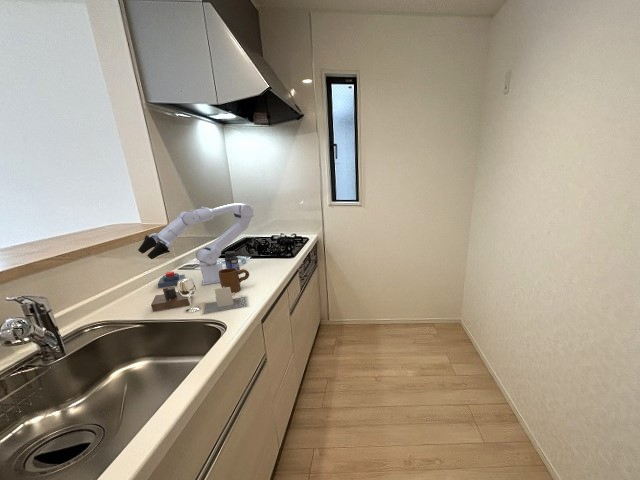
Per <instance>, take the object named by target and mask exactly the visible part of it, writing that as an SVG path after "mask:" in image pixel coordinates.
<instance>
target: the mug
mask: <svg viewBox="0 0 640 480" xmlns="http://www.w3.org/2000/svg"><path fill="white" fill-rule="evenodd" d="M241 274H244V276H241V277H240V275H241ZM249 277H250V272H249V270H247V269H244V268H243V269H240V271H237V269H235V268H228V269H227V268H223V270H220V271H219V278H220V282H219V283H220V288H223V287H224V288H226V287H230V289H231V293H237V292H239V291H241V289H242V286H241V283H242V282H243V281H246V280H248V279H249Z"/></svg>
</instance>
